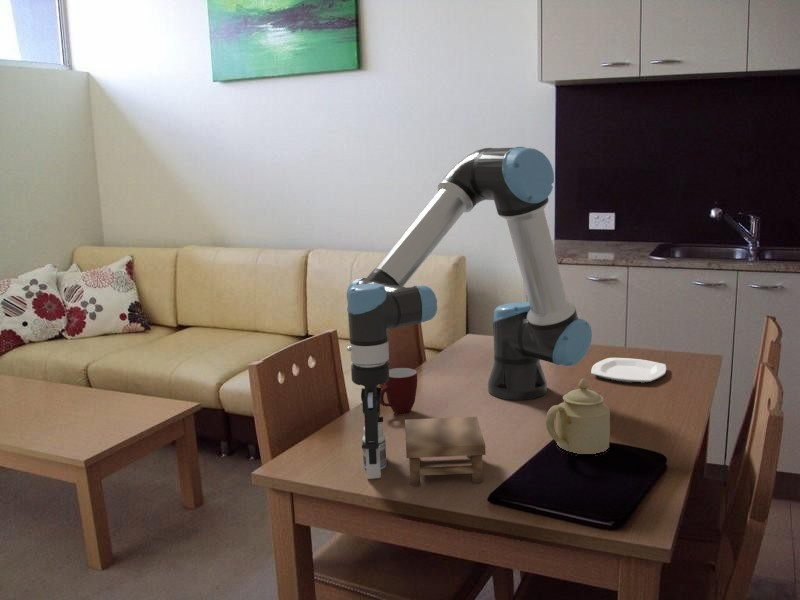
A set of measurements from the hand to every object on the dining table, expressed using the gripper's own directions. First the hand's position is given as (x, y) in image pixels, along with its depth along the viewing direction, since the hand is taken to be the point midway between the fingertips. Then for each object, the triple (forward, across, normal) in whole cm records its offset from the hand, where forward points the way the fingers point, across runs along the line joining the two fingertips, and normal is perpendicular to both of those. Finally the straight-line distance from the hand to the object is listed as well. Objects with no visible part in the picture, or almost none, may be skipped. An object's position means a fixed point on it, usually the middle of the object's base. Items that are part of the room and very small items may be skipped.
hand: (374, 465), depth 156 cm
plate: (0, -53, +68) cm, 86 cm away
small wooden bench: (0, +3, +14) cm, 14 cm away
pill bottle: (0, 0, 0) cm, 0 cm away
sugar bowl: (0, -4, +43) cm, 43 cm away
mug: (0, -30, +5) cm, 30 cm away
